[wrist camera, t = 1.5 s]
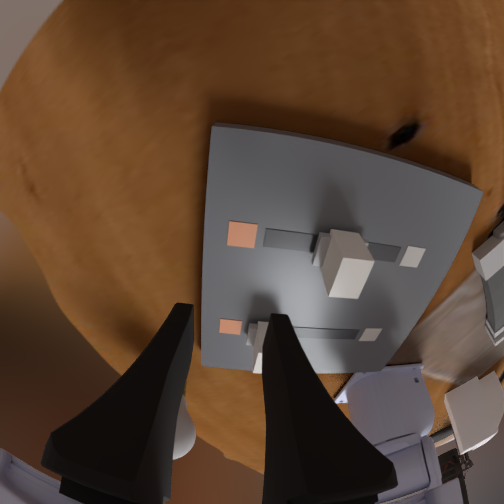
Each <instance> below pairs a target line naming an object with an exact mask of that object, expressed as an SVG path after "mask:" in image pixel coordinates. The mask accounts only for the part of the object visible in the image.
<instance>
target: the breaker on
mask: <svg viewBox="0 0 504 504" xmlns="http://www.w3.org/2000/svg"><path fill="white" fill-rule="evenodd" d="M268 323H269V322H261V321H258V324H253V323H249V327H248V332H247V338H246V345H251V346H253V373H262V346H263V342H264V338H265V334H266V331H267V327H268Z"/></svg>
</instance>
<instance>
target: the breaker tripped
mask: <svg viewBox="0 0 504 504" xmlns="http://www.w3.org/2000/svg"><path fill="white" fill-rule="evenodd" d="M368 244H369V243H368V241H367V239H364V238H361V236H360V234H359V233H355V232H348V231H341V230H335V229H331V230H330V233H323V232H320V233H319V236H318V240H317V243H316V247H315V250H314V253H313V257H312V260H311V261H312V265H313V266H320V269H321V273H322V276H323V280H324V283H325V287H326V290H327V294H328V297H338V298H352V299H358V297H359V295H360V293H361V291H362V289H363V287H364V285H365V282H366V280H367V278H368V276H369V273H370V271H371V269H372V267H373V264H374V262H375V261H374V259H373V257H372V255H371V253H370V252H369V250H368V248H367V247H368Z"/></svg>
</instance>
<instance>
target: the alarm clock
mask: <svg viewBox="0 0 504 504" xmlns="http://www.w3.org/2000/svg"><path fill="white" fill-rule="evenodd" d="M472 255H473V259H474V264H475V268H476V270H477V271H478V272H479V274H480V275H481V278H482V282H483V286H484V291H485V296H486V302H487V314H488V318H487V319H486V325H485V329H486V331H487V333H488V334H489V336H490V338H491V340H492V342H493V344H494V346H496V345H498V344H499V343H500V342H501V341H503V340H504V221H503V222H502V223H501V224H500V225H499V226H497V227H496V228H495V229H494V230H493V235H492V236H491V237H490V238H489V239H488V240H486V241H485V242H484V243H483V244H482V245H481V246H479V247H478V248H477V249H476V250H475V251H473V252H472Z"/></svg>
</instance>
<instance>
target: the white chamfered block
mask: <svg viewBox="0 0 504 504" xmlns="http://www.w3.org/2000/svg"><path fill="white" fill-rule="evenodd" d="M444 403H445V406H446V409H447V412H448V415H449V418H450V421H451V424H452V428H453V431H454V434H455V438H456V441H457V445H458V448H459V452H460V455H462V454H463V453H465V452H467V451H469V450H471V449H472V450H474V449H476V448H478V447H479V446H481V445H483V444H485V443H486V442H487V441H489V440H490V439H491V438H492V437H493V436H494V435H495V434H496V433H497V432H498V426H499V423H500V421H501V418H502V415H503V413H504V390H503V388H502V386H501V384H500V381H499V379H498V377H497V375H496V373H495V371H493V372H491V373H489V374H488V375H486V376H485V377H483V378H482V379H480V380H479V379H478V377H477V376H476V377H474V378H473V379H471V380H469V381H467V382H466V383H464V384H462V385H460V386H459V387H457V388H455V389H453V390H451V391H449V392H448V393H446V394H445V400H444Z"/></svg>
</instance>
